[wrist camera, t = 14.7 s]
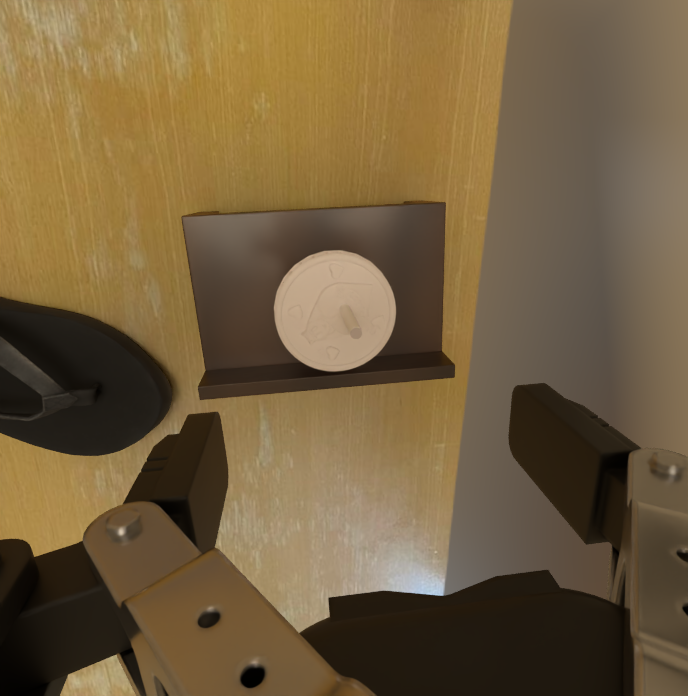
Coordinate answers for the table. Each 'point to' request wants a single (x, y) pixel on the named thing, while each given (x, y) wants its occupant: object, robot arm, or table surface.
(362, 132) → the table surface
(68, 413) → the sandal
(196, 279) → the shelf
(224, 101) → the table surface
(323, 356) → the smoothie
